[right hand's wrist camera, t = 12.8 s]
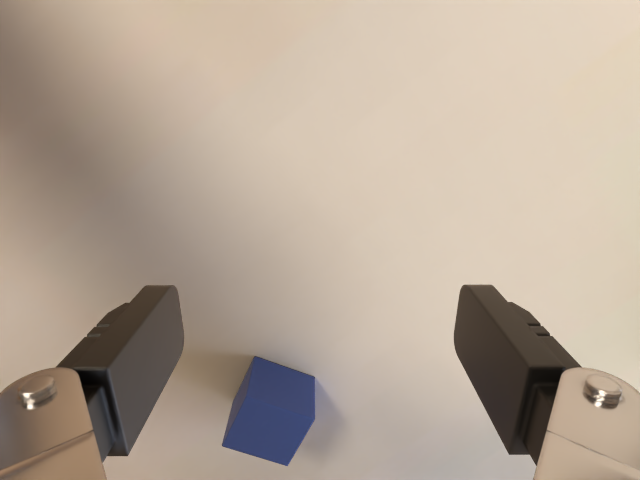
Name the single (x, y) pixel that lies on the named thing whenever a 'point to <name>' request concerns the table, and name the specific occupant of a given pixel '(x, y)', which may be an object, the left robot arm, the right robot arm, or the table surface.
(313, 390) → the blue block
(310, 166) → the table surface
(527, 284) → the table surface
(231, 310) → the table surface
